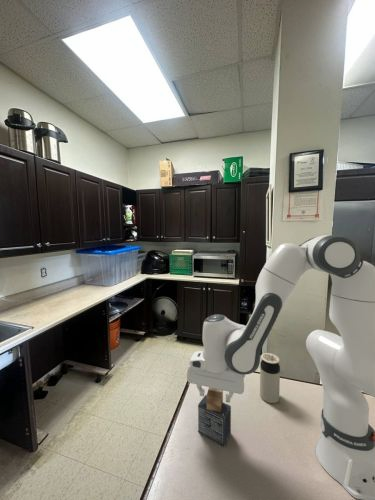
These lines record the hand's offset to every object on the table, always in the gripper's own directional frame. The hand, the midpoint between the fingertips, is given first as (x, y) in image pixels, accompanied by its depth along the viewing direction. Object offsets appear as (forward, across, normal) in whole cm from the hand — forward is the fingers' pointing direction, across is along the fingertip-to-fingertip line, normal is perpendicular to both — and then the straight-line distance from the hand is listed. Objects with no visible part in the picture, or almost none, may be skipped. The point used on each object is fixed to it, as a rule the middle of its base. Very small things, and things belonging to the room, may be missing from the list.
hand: (214, 397), depth 75 cm
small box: (+13, 0, 0) cm, 13 cm away
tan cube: (+3, 0, 0) cm, 3 cm away
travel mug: (+13, -20, -24) cm, 34 cm away
